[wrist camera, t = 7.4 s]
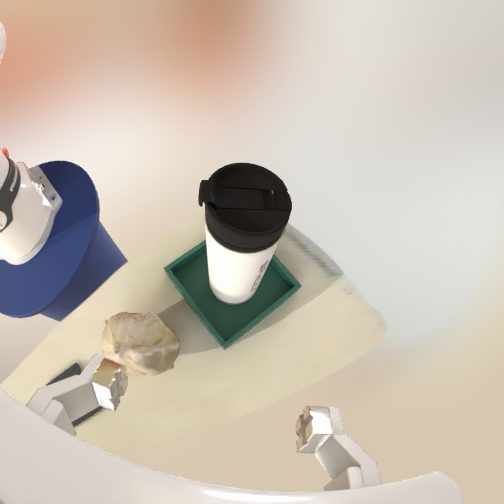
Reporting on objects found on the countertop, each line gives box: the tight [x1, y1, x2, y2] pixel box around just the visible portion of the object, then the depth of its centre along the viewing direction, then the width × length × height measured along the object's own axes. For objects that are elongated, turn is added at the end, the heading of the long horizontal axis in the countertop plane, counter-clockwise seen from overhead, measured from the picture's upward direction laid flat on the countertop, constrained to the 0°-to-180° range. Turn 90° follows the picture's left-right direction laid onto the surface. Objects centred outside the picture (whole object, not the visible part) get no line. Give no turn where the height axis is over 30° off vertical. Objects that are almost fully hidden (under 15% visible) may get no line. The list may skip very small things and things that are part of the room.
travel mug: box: [199, 163, 292, 305], centre depth 27 cm, size 6×7×20 cm
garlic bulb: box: [102, 312, 180, 376], centre depth 27 cm, size 9×8×10 cm
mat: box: [46, 363, 104, 427], centre depth 26 cm, size 7×7×1 cm
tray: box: [164, 240, 301, 350], centre depth 35 cm, size 13×13×2 cm
